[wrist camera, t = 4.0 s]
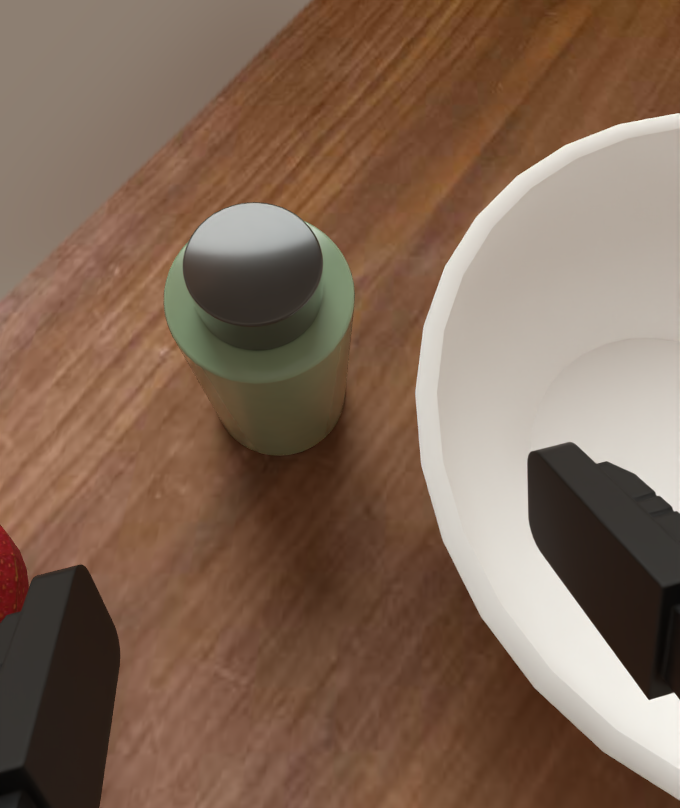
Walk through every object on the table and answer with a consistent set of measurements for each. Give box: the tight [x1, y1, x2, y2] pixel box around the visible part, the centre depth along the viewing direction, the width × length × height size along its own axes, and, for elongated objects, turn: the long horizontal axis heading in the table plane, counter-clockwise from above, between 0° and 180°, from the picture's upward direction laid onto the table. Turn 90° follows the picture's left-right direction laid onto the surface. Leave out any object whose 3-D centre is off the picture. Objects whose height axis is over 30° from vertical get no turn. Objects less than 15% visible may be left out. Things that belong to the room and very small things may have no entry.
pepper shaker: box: [164, 202, 355, 456], centre depth 19 cm, size 5×5×10 cm
